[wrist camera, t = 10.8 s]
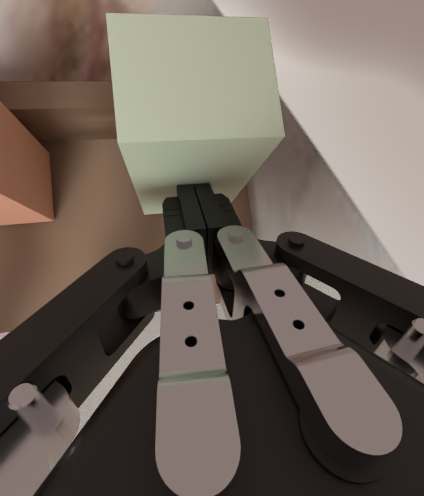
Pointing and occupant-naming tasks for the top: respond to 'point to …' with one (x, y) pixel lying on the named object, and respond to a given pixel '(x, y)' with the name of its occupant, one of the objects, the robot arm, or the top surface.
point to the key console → (74, 196)
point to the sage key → (192, 101)
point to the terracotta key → (23, 174)
